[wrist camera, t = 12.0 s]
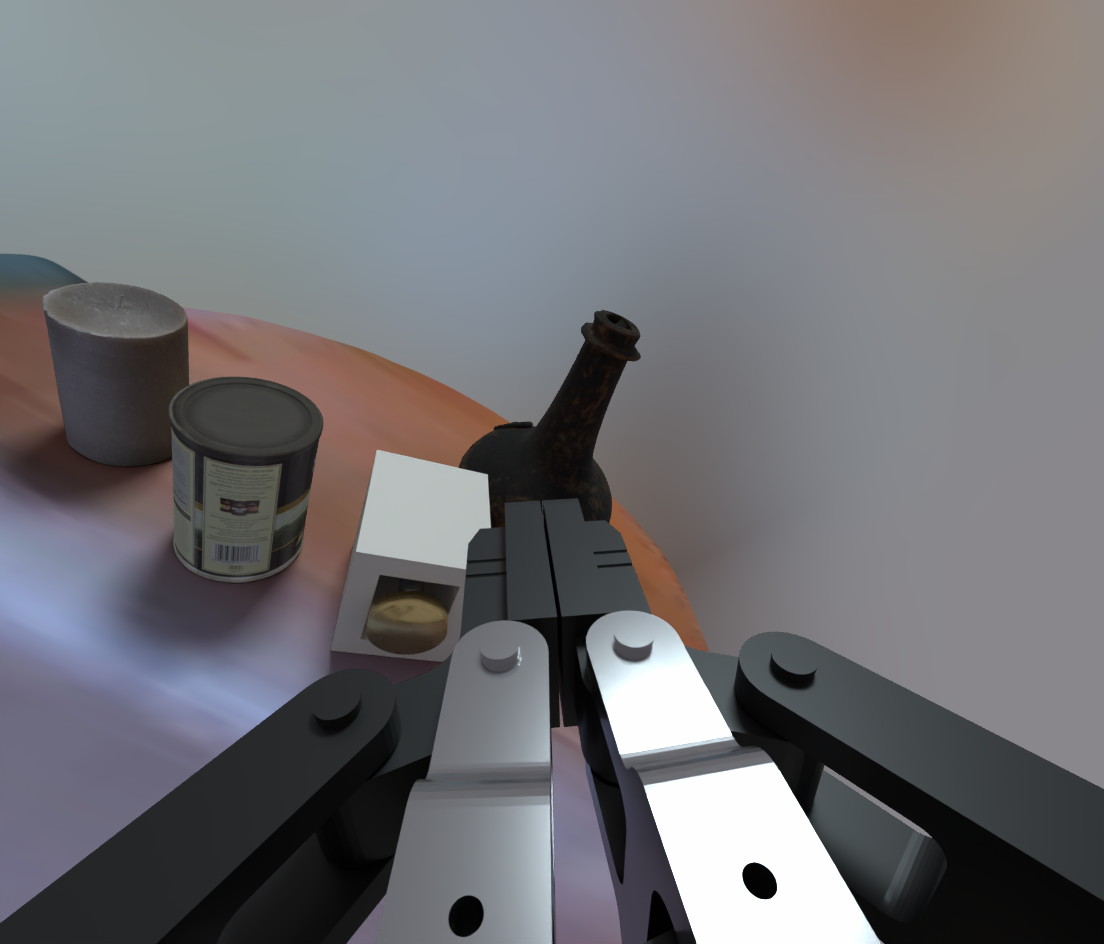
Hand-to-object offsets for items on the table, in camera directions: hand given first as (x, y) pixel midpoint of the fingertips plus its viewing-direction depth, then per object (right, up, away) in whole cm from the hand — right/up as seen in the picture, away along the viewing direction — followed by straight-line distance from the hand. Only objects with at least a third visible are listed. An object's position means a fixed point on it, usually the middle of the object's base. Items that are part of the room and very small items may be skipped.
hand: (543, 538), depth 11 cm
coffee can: (-28, -5, +38) cm, 47 cm away
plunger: (-13, -9, +36) cm, 39 cm away
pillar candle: (-42, +5, +42) cm, 59 cm away
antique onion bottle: (-4, -6, +52) cm, 53 cm away
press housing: (-14, -11, +39) cm, 43 cm away
